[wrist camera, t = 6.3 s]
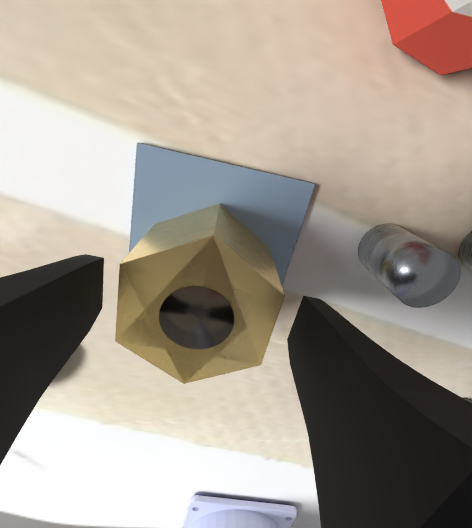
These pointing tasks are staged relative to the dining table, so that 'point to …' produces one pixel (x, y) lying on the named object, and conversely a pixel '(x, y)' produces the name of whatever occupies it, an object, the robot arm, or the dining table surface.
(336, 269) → the dining table surface
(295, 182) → the mat
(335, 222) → the dining table surface
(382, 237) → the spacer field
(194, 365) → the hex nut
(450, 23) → the beverage can
